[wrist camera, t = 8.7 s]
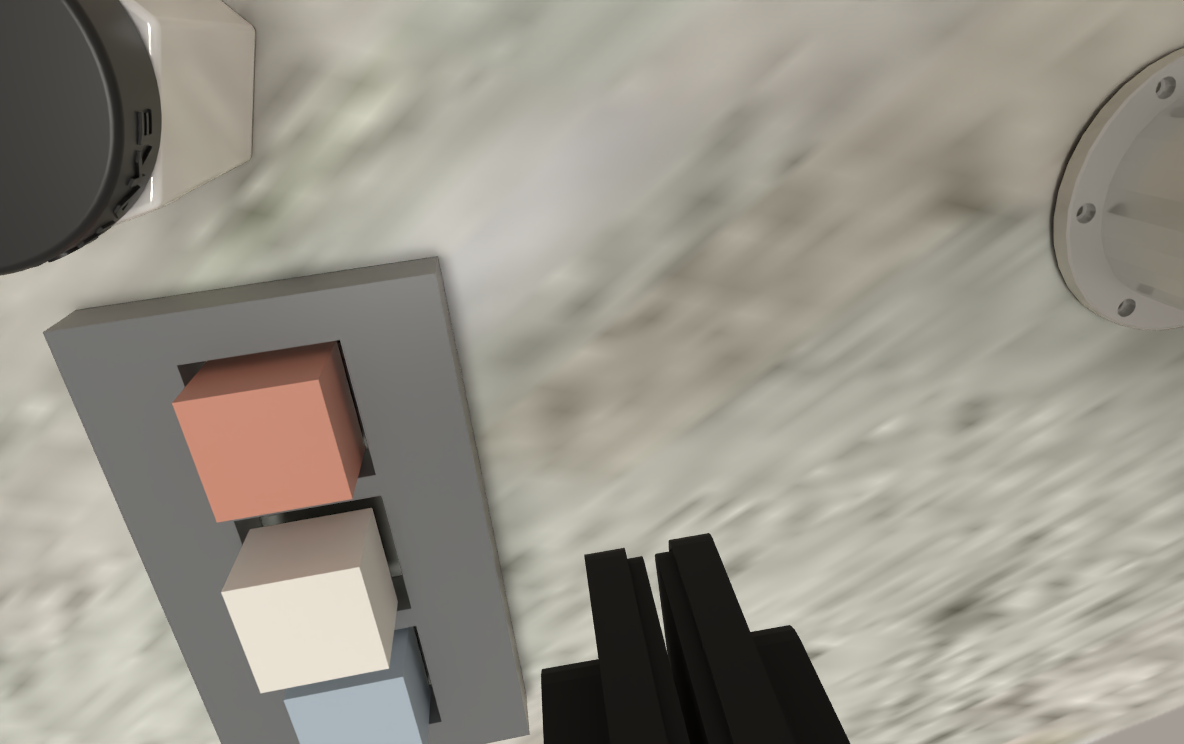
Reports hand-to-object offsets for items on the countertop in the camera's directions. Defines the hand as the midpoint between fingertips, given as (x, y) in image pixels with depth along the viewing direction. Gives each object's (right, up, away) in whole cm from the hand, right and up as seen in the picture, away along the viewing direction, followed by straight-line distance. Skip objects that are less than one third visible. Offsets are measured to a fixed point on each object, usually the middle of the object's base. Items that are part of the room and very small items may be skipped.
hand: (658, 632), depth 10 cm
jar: (-17, +14, +17) cm, 28 cm away
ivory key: (-12, -5, +23) cm, 26 cm away
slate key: (-12, -11, +27) cm, 31 cm away
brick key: (-13, +2, +21) cm, 25 cm away
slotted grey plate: (-13, -4, +25) cm, 28 cm away
